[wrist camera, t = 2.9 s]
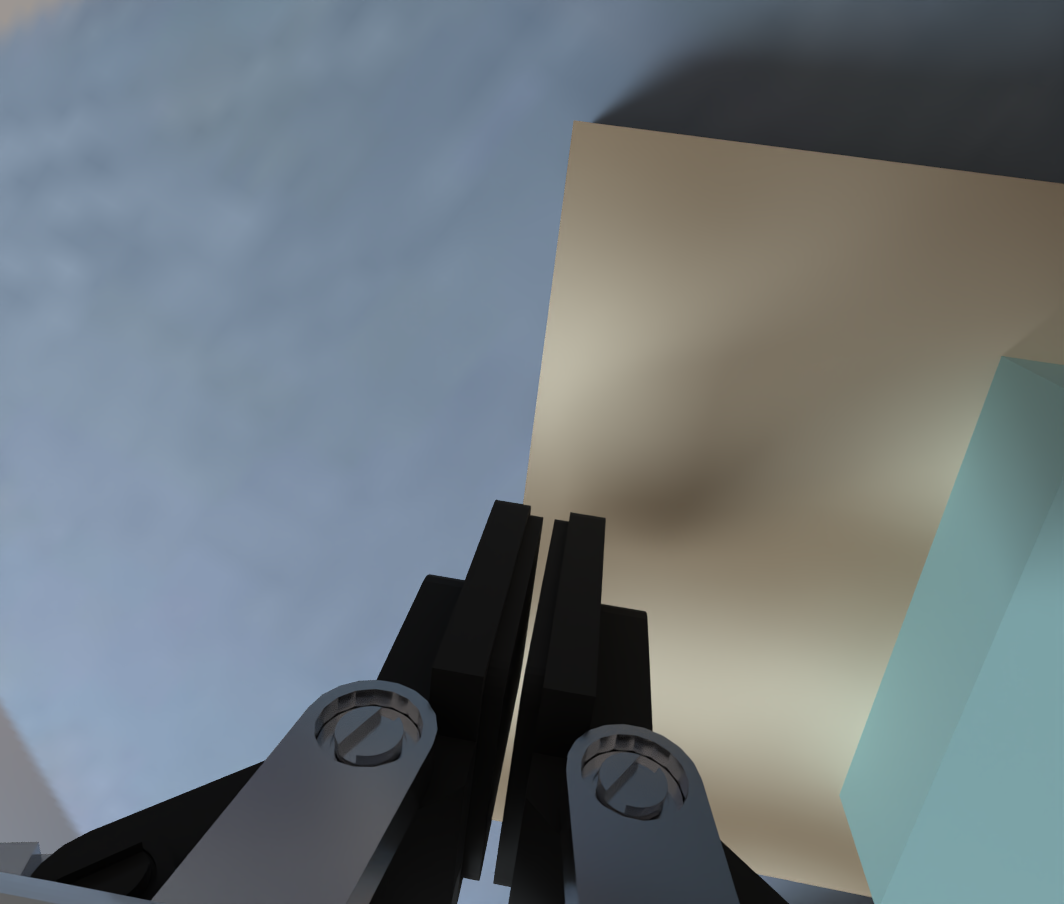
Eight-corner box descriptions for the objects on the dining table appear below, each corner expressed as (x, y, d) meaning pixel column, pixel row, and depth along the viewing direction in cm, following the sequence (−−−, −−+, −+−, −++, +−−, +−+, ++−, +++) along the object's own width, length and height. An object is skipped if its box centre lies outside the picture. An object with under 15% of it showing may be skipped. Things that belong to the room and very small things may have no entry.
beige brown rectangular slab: (1266, 885, 17) (1364, 997, 15) (501, 736, 18) (482, 817, 16) (1692, 272, 12) (1947, 298, 10) (585, 128, 13) (573, 120, 11)
